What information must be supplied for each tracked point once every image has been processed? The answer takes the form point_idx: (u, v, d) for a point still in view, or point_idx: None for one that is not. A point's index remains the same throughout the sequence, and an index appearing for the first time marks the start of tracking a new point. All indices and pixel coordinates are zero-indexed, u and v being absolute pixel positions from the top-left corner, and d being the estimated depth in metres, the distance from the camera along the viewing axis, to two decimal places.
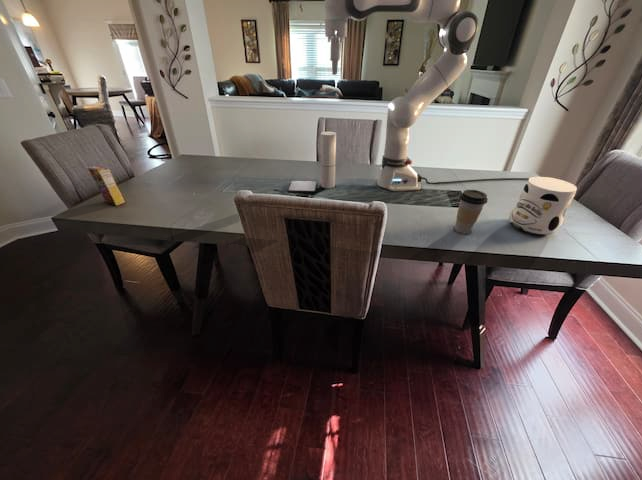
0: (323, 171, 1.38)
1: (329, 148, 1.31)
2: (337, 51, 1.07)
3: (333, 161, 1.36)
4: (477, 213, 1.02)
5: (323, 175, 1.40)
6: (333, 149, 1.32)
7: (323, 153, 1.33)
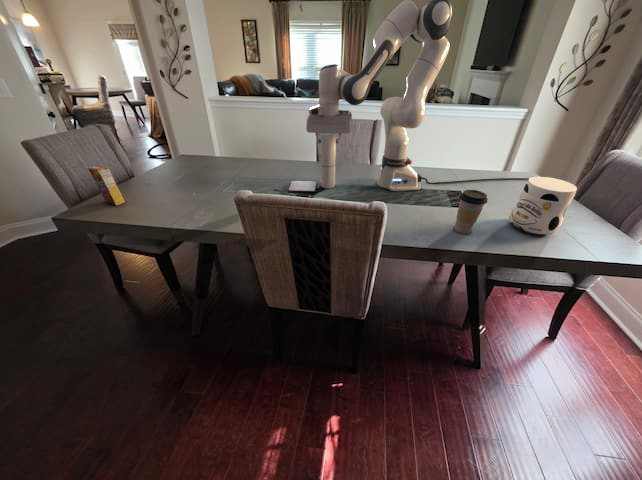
0: (323, 171, 1.38)
1: (329, 148, 1.31)
2: None
3: (333, 161, 1.36)
4: (477, 213, 1.02)
5: (323, 175, 1.40)
6: (333, 149, 1.32)
7: (323, 153, 1.33)
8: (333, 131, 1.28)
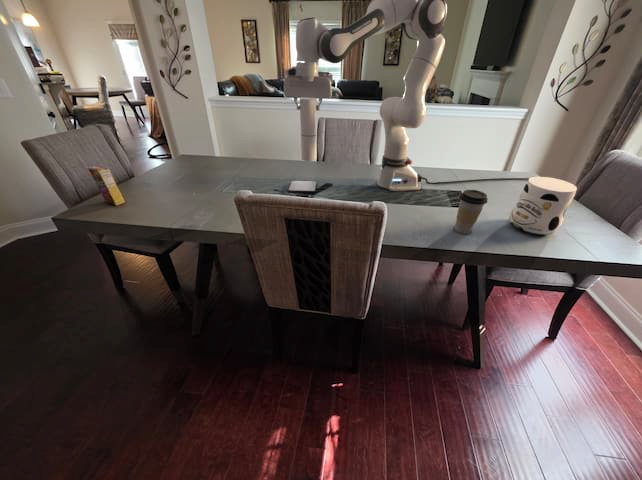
0: (303, 141, 1.28)
1: (308, 115, 1.21)
2: (331, 89, 1.18)
3: (314, 130, 1.25)
4: (477, 213, 1.02)
5: (303, 146, 1.29)
6: (313, 116, 1.22)
7: (302, 121, 1.23)
8: (313, 95, 1.18)
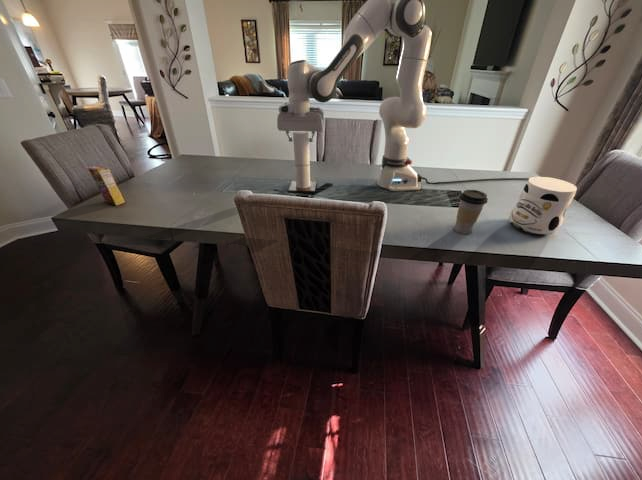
0: (297, 170, 1.35)
1: (301, 147, 1.28)
2: (322, 123, 1.25)
3: (307, 160, 1.32)
4: (477, 213, 1.02)
5: (297, 175, 1.36)
6: (306, 148, 1.29)
7: (296, 152, 1.30)
8: (305, 129, 1.24)
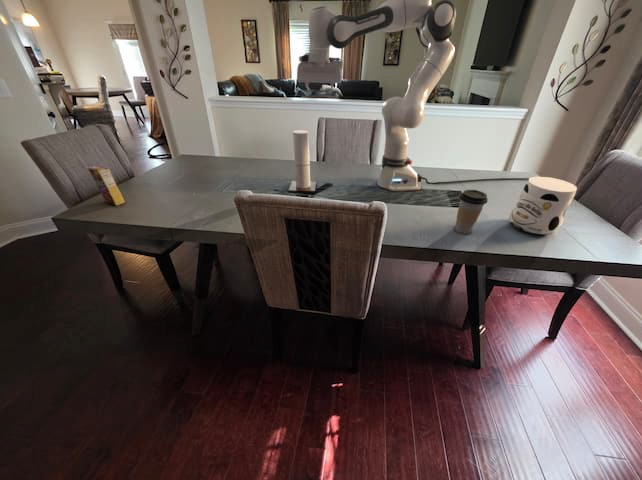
0: (297, 170, 1.35)
1: (301, 147, 1.28)
2: None
3: (307, 160, 1.32)
4: (477, 213, 1.02)
5: (297, 175, 1.36)
6: (306, 148, 1.29)
7: (296, 152, 1.30)
8: (324, 80, 1.27)
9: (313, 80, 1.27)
